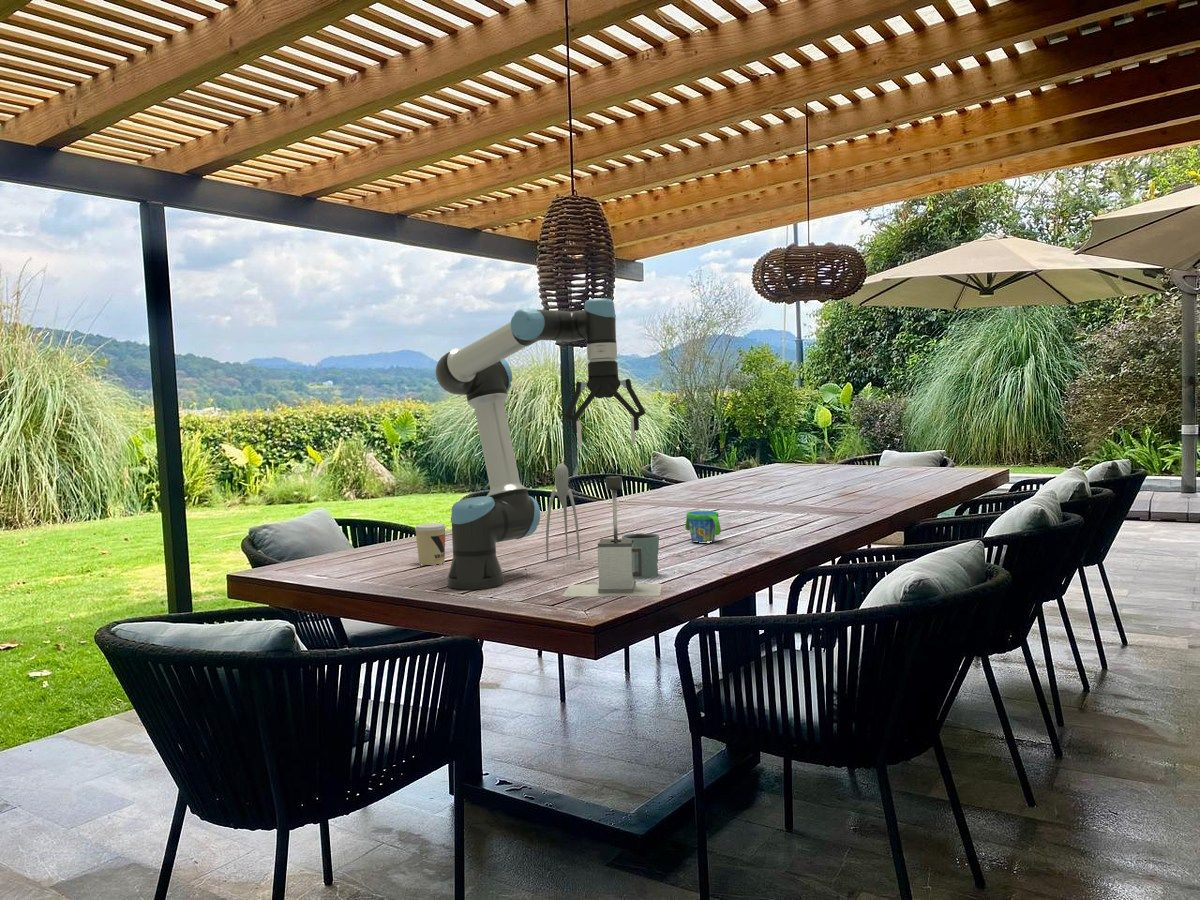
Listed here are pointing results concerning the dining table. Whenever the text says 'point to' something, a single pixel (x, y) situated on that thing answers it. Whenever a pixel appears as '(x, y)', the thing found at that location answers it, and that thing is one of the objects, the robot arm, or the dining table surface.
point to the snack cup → (703, 525)
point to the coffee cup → (431, 543)
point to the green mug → (646, 553)
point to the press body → (617, 565)
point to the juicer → (562, 503)
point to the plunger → (614, 499)
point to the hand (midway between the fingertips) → (606, 445)
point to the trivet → (593, 591)
